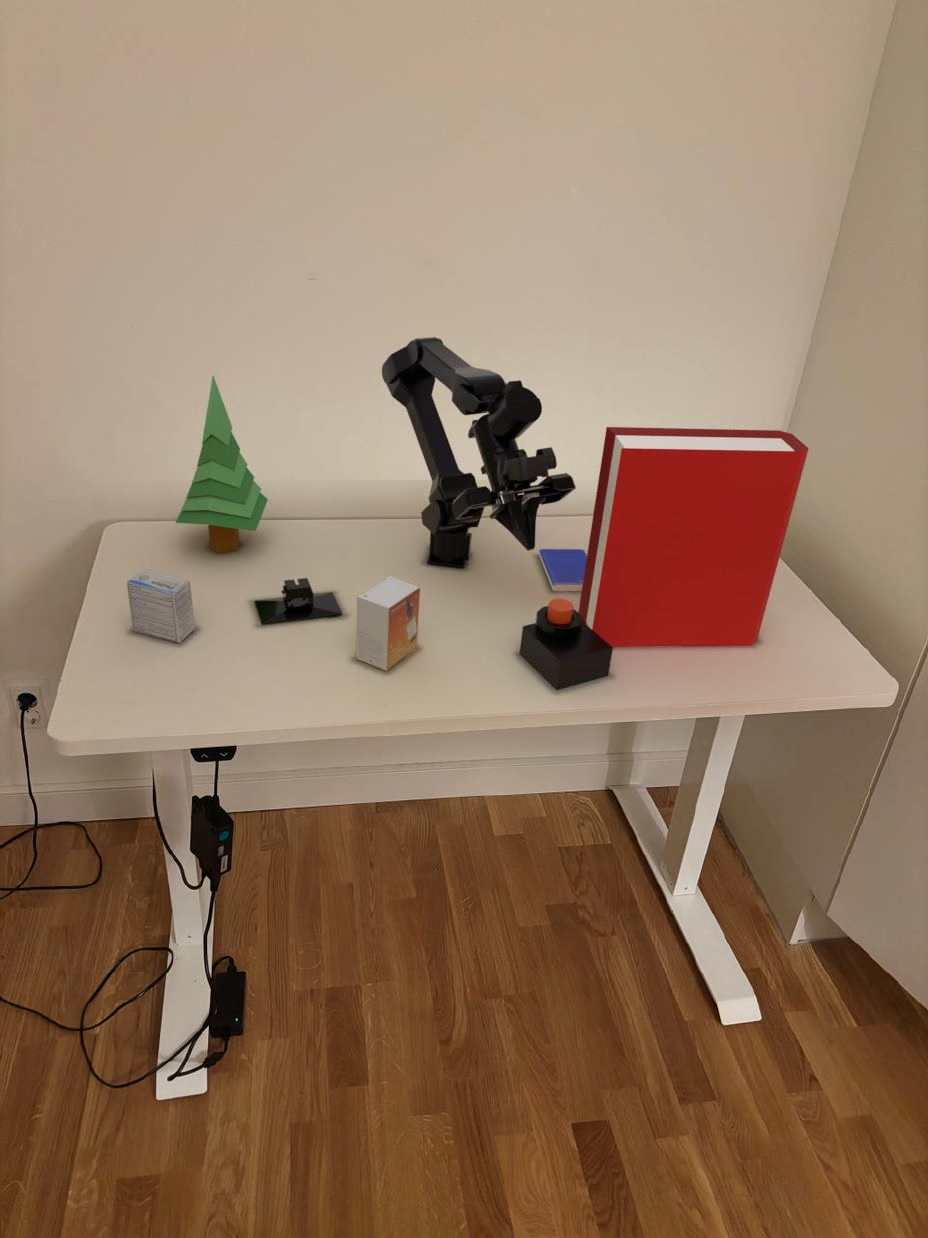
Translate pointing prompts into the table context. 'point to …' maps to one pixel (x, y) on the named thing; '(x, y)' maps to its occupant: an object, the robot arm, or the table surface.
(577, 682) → the button base
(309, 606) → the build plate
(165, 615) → the medicine box
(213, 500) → the decorative tree
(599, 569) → the book
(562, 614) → the button
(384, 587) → the small box
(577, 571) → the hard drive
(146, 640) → the table surface
